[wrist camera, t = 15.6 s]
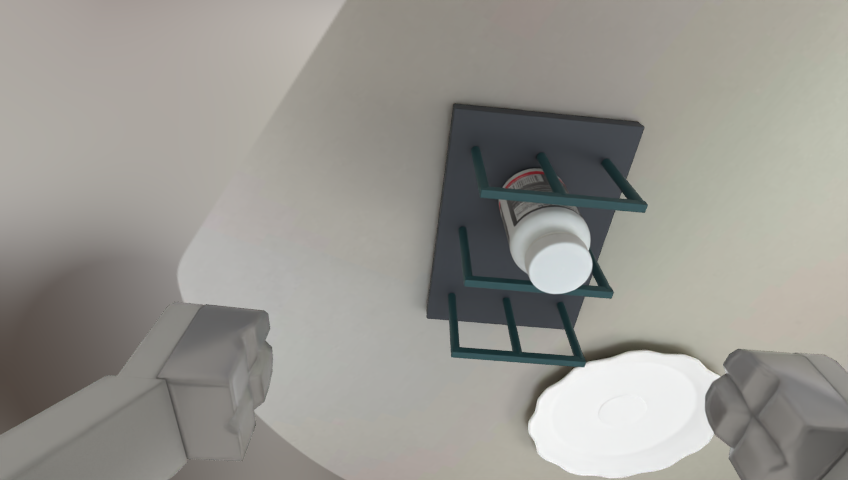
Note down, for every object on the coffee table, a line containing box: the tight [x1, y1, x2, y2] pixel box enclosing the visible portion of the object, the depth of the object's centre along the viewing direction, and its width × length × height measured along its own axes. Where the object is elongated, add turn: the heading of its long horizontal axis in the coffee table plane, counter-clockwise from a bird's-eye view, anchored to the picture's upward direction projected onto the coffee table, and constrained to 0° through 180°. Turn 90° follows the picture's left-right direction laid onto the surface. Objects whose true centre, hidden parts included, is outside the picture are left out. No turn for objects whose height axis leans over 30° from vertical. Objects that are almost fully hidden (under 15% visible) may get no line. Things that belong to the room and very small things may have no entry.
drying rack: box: [427, 104, 648, 367], centre depth 37 cm, size 20×14×8 cm
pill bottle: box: [499, 168, 592, 294], centre depth 34 cm, size 5×5×10 cm
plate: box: [528, 350, 721, 478], centre depth 53 cm, size 21×21×2 cm
